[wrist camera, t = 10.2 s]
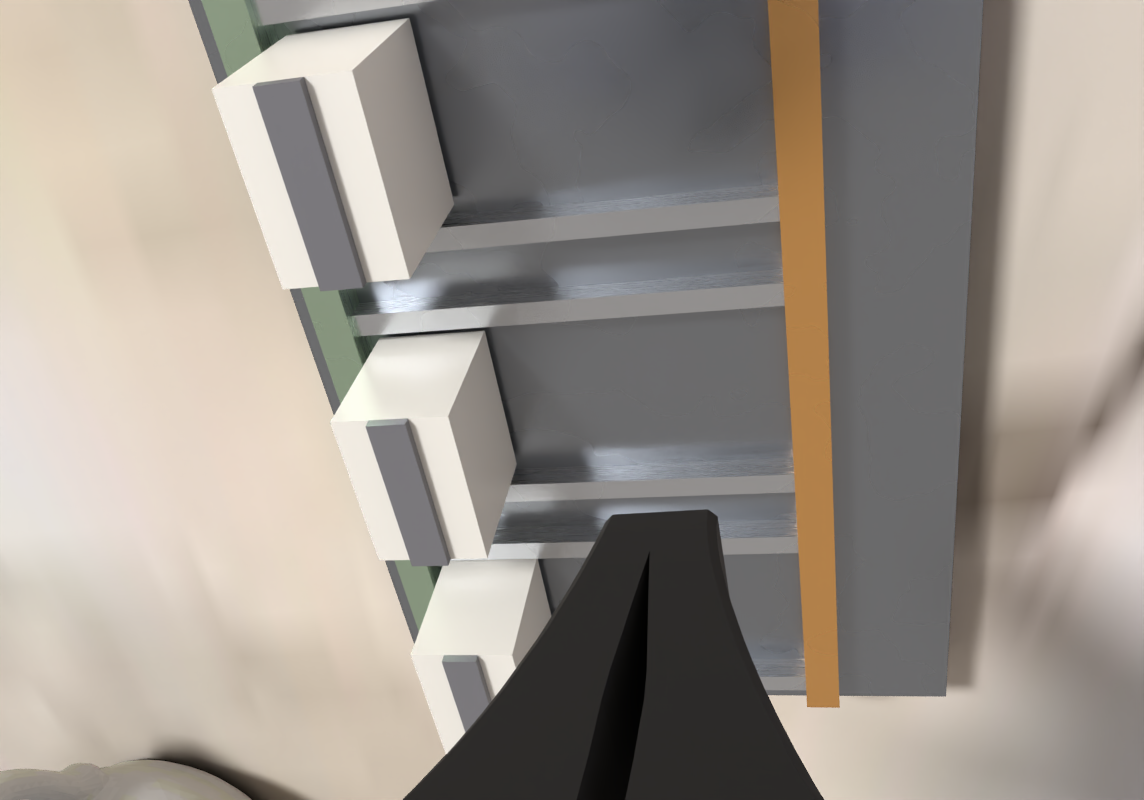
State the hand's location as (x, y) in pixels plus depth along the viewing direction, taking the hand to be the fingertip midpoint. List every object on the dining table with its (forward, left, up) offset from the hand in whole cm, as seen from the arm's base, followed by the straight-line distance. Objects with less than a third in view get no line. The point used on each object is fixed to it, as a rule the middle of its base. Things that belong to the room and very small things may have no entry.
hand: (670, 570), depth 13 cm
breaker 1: (+6, -4, -9) cm, 11 cm away
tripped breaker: (+6, +9, -9) cm, 14 cm away
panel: (+2, +3, -10) cm, 11 cm away
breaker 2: (+6, +3, -9) cm, 11 cm away
